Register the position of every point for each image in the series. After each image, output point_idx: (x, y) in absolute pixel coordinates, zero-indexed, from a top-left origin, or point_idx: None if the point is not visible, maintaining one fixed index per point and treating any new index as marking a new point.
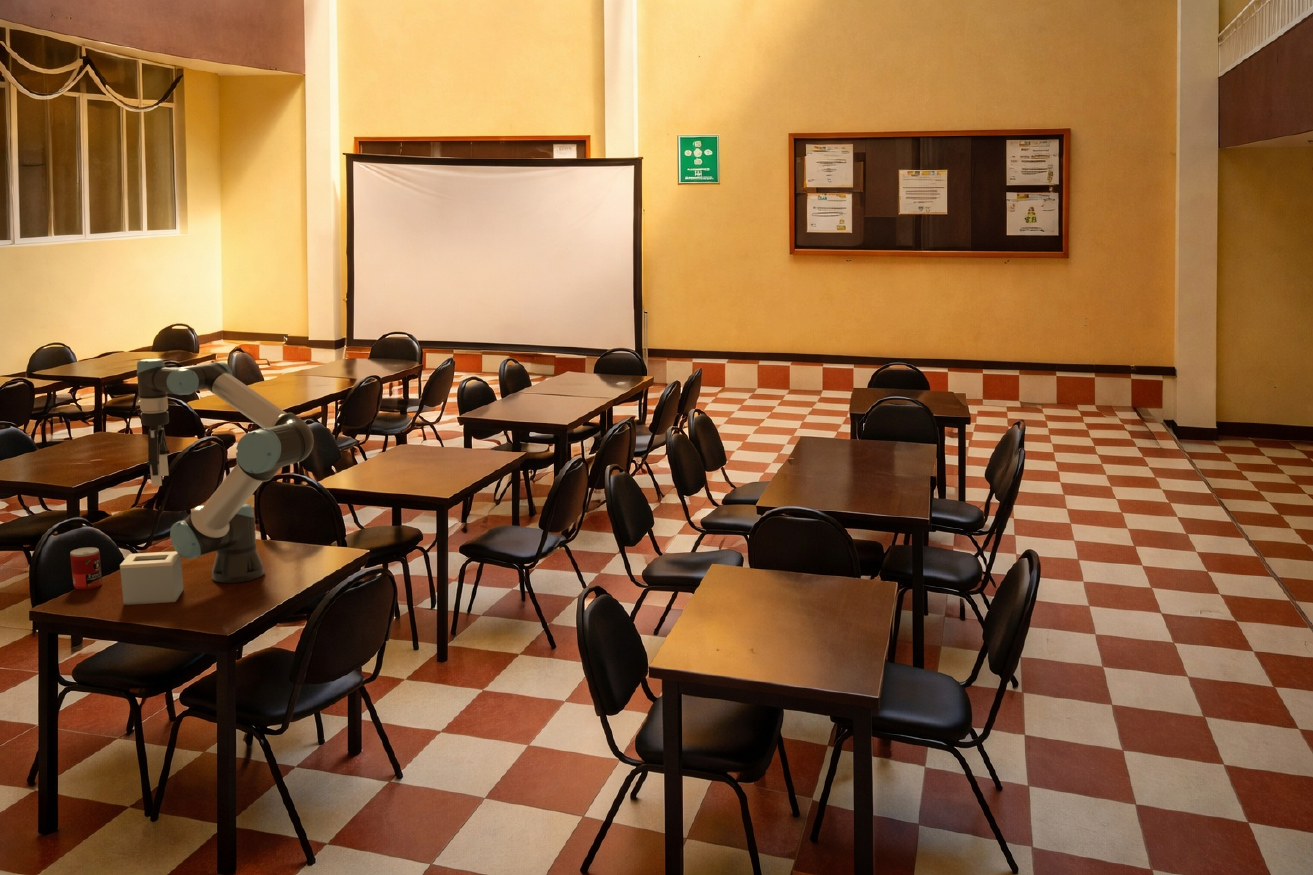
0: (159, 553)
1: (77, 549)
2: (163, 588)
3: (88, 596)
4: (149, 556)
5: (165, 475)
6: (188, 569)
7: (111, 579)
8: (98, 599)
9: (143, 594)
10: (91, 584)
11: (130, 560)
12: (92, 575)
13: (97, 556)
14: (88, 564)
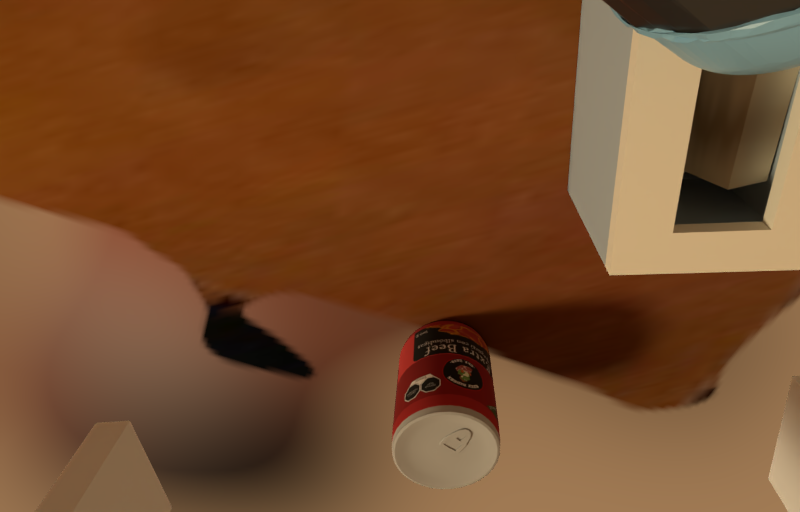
0: (656, 123)
1: (415, 477)
2: None
3: (569, 324)
4: (681, 167)
5: (141, 449)
6: (270, 43)
7: (382, 305)
8: (615, 286)
9: None
10: (485, 345)
11: (747, 241)
12: (483, 362)
13: (462, 396)
14: (493, 401)
